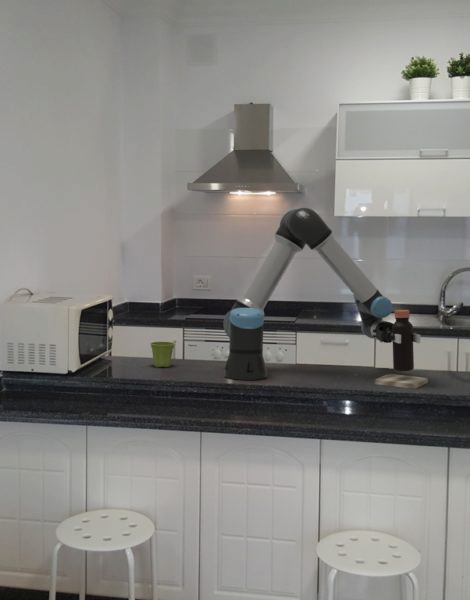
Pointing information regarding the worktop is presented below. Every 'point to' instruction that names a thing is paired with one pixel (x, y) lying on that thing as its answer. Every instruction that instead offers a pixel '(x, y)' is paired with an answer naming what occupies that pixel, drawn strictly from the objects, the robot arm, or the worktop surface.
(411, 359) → the vinegar
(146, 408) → the worktop surface
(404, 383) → the birch board
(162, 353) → the plant pot
